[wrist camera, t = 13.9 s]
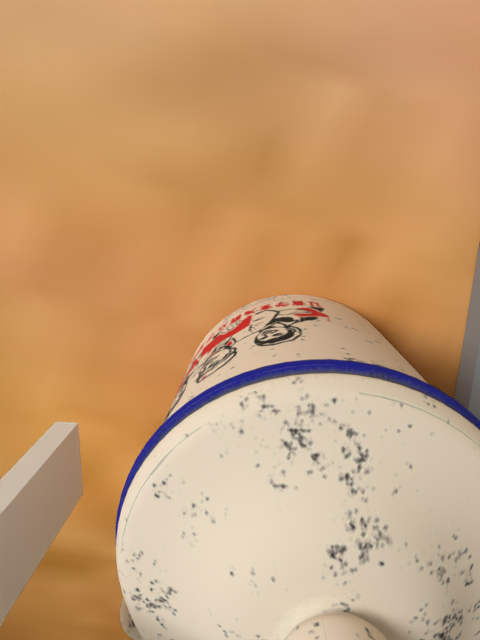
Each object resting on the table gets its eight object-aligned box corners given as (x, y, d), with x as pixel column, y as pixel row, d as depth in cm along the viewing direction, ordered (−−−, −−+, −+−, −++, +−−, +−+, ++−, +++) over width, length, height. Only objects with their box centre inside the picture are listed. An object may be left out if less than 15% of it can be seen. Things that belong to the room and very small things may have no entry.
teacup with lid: (299, 235, 16) (385, 300, 5) (452, 401, 18) (782, 738, 7) (89, 433, 19) (-163, 770, 8) (237, 566, 20) (209, 1018, 9)
